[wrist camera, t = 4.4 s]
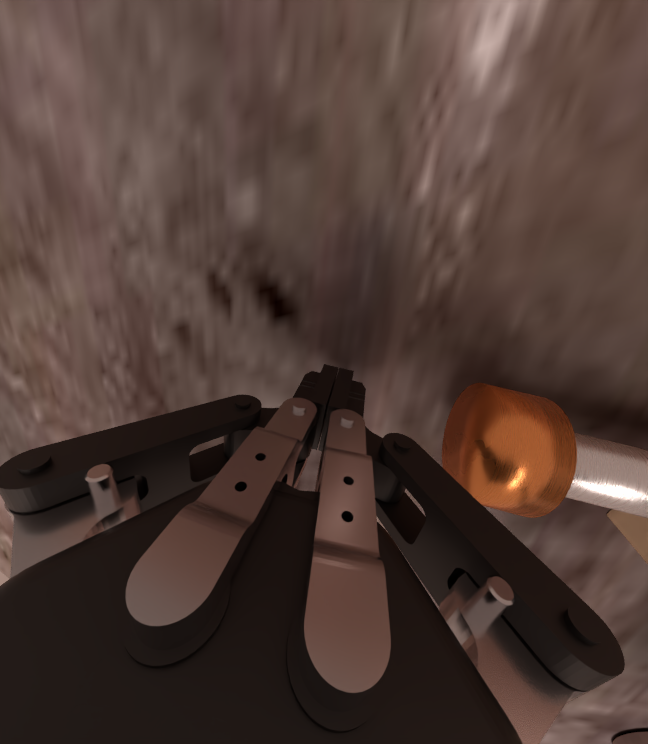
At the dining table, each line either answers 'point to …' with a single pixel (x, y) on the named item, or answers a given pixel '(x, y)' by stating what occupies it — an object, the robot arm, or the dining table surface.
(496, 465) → the pin
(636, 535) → the block
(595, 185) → the dining table surface
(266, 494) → the robot arm
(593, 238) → the dining table surface
